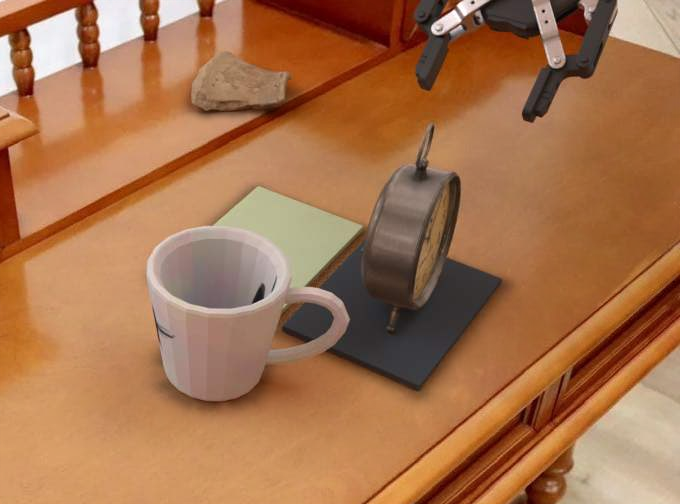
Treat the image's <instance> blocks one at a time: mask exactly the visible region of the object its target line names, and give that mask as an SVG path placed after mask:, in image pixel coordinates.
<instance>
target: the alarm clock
mask: <svg viewBox="0 0 680 504" xmlns="http://www.w3.org/2000/svg"><path fill="white" fill-rule="evenodd" d="M435 129H436V127H435V124H434V123H433V122H431V123H429V124H428V126H427V128H426V130H425V132H424V135H423V137H422V139H421V141H420V145H419V147H418V153H417V157H416V160H415V163H413V162H412V163H406V164H403V165H401V166H400V167H398V168H396V170H394V172H392V173H391V175H390V176H389V178H388V179H387V181H386V182H385V183H384V186H383V187H382V189H381V191H380V193H379V195H378V197H377V199H376V202H375V204H374V207H373V209H372V213H371V215H370V219H369V222H368V224H367V225H368V226H367V229H366V233H365V238H364V240H365V242H364V247H363V248H362V249H361V254H362V264H361V274H362V282H363V285H364V288H365V290H366V292H367V293H368V294H369V295H370V296H371V297H372V298H374V299H377V300H381V301H384V302H388V303H391V304H392V310H391V314H390V324H389V326H387V328H386V330H387V332H389V333H393V332H394V330H395V328H394V326H395V324H396V322H397V320H398V318H399V315H400V311H401V309H402V308H405V307H406V308H409V309H412V310H418V309H420V308H421V307H423V306H424V305H425V303H426V302H427V300H428V299H429V297H430V295H431V294H432V292H433V290H434V288H435V286H436V284H437V281H438V279H439V277H440V274H441V272H442V269H443V266H444V264H445V260H446V258H448V255H449V252H450V248H451V245H452V242H453V238H454V235H455V230H456V226H457V221H458V215H459V212H460V211H459V209H460V205H461V195H462V192H461V191H462V181H461V177H460V176H459V174H458V173H457V172H456V171H449V170H444V169H440V168H435V167H431V166H429V163H430V162H429V160H428V159H427V157H428V155H429V152H430V150H431V146H432V142H433V139H434V133H435ZM426 142H427V143H426ZM425 145H426V147H425ZM424 149H425V150H424ZM423 152H424V153H423Z"/></svg>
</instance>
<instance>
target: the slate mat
mask: <svg viewBox="0 0 680 504" xmlns="http://www.w3.org/2000/svg"><path fill="white" fill-rule="evenodd" d="M364 242H365V239H364V240H363V241H361V242H360V244H359V245H358V246H356V248H355V249H354V250H353V251H352V252H351V253H350V254H349V255H348V256H347V258H345V260H343V262H341V264H340V265H339V266H337V268H336V269H335V270H334V271H333V272H332V273H331V274H330V275H329V276H328V277H327V278H326V279H325V280H324V281H323V282H322V284H320V285H319V287H318V288H319V289H322V290H325V291H328V292H331V293H333V294H334V295H335V296H336V297H338V298H339V299H340V300H342V302H343V304H344V306H345V309H346V311H347V313H348V316H349V318H350V321H349V323H348V326H347V329H346V331H345V333H344V334H343V335H342V336H341V338H340V339H339V340H338V341H337V342H336V343H335V345H333V346H332V347H330V348H329V349H327V350H326V352H328V353H331V354H334V355H336V356H337V357H341V358H343V359H345V360H347V361H349V362H352V363H354V364H356V365H358V366H361V367H363V368H365V369H367V370H370V371H372V372H374V373H376V374H378V375H381V376H383V377H385V378H388V379H390V380H392V381H395V382H397V383H399V384H402V385H404V386H406V387H408V388H409V389H413V390H415V391H417V392H419V391H420V390H421V389H422V387H424V385H425V383H426V382H427V381H428V380H429V378H430V377H431V376H432V375H433V373H434V372H435V371H436V369H437V368H438V367H439V365H440V364H441V363H442V361H443V360H444V359H445V358H446V357H447V355H448V354H449V352H450V351H451V350H452V348H453V347H454V346H455V345H456V344H457V342H458V341H459V339H460V338H461V337H462V336H463V334H464V333H465V332H466V330H467V329H468V328H469V326H470V325H471V324H472V322H473V321H474V320H475V318H476V317H477V316H478V314H479V313H480V312H481V311H482V310H483V308H484V307H485V306H486V304H487V303H488V302H489V300H490V299H491V298H492V296H493V295H494V293H495V292H496V291H497V290H498V288H499V287H500V286H501V284H502V282H503V278H502V277H499V276H497V275H495V274H491V273H489V272H485V271H484V270H482V269H481V270H480V269H478V268H475V267H474V266H470V265H467V264H465V263H462V262H459V261H457V260H454V259H452V258H449V257H447V258H446V260H445V264H444V266H443V269H442V272H441V274H440V277H439V279H438V281H437V284H436V286H435V288H434V290H433V292H432V294H431V295H430V297H429V299H428V300H427V302H426V303H425V305H424V306H423V307H421V308H420V309H418V310H412V309H409V308H406V307H405V308H402V309H401V311H400V315H399V318H398V320H397V322H396V324H395V326H394V328H395V330H394V332H393V333H389V332H387V330H386V328H387V326H389V324H390V314H391V310H392V304H391V303H388V302H384V301H381V300H377V299H374V298H372V297H371V296H370V295H369V294H368V293H367V292H366V290H365V288H364V285H363V282H362V274H361V264H362V254H361V249H362V248H363V247H364ZM333 320H334V316H333V314H332V312H331V311H330V310H329V309H327V308H326V307H324V306H321V305H318V304H315V303H310V302H303V303H302V304H301V306H300V307H298V308H297V310H295V312H294V313H292V315H291V316H290V317H289V318H288V319H287V320H286V321H285V322H284V324H282V325H281V331H282V332H283V333H286V334H288V335H291V336H292V337H294V338H296V339H299V340H302V341H304V342H306V343H308V342H311V341H313V340H315V339H317V338H319V337H320V336H322V335H323V334H325V333H326V332H327V331H328V330H329V329H330V328H331V326H332V323H333Z"/></svg>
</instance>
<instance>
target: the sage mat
mask: <svg viewBox="0 0 680 504" xmlns="http://www.w3.org/2000/svg"><path fill="white" fill-rule="evenodd" d="M212 226H230V227H235V228H240V229H245V230H249V231H252V232H254V233H256V234H259V235H261V236H263V237H266V238H268V239H269V240H270V241H272V242H273V243H274V244H275V245H277V246H278V247H279V248H281V249H282V251H283V253H284V254H285V256H286V257H287V259H288V260H289V262H290V267H291V276H292V280H291V283H290V287H289V288H293V287H311V285H312V284H313V283H314V282H315V281H316V280H317V279H318V278H319V277H320V276H321V275H322V273H324V271H325V270H327V268H328V267H330V265H331V264H333V262H334V261H335V260H336V259H337V258H338V257H339V256H340V255H341V254H342V253H343V252H344V251H345V250H346V249H347V248H348V247H349V246H350V245H351V244H352V243H353V242H354V241H355V240H356V238H357V237H359V236H360V234H361V233H362V232H363V231H364V225H363V224H359V223H357V222H354V221H352V220H349V219H348V218H347V219H346V218H344V217H341V216H338V215H335V214H333V213H331V212H328V211H325V210H323V209H320V208H318V207H315V206H312V205H309V204H307V203H305V202H301V201H299V200H296V199H293V198H291V197H288V196H286V195H283V194H281V193H278V192H275V191H273V190H270V189H268V188H266V187H265V188H264V187H262V186H260V185H258V186H256V187H255V188H254V189H253V190H252V191H251V192H249V193H248V194H247V195H246V196H245V197H244V198H243V199H241V200H240V201H239V202H238V203H237V204H235V205H234V206H233V207H232V208H231V209H230V210H229V211H228V212H227V213H225V214H224V215H223V216H222V217H221V218H219V220H217V221H216V222H215V223H214V224H213V225H212ZM292 304H293V303H291V304H284V306H283V309H282V312H281V315H280V317H281V316H282V315H283V314H284V313H285V312H286V311H287V310H288V309H289V308H290V307H291V306H292Z"/></svg>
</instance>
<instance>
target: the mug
mask: <svg viewBox="0 0 680 504" xmlns="http://www.w3.org/2000/svg"><path fill="white" fill-rule="evenodd" d="M145 276H146V282H147V288H148V291H149V292H148V294H149V298H150V303H151V308H152V314H153V319H154V323H155V328H156V334H157V339H158V344H159V349H160V350H159V351H160V356H161V359H162V366H163V371H164V373H165V375H166V377H167V379H168V381H169V382H170V383H171V385H173V386H174V388H176V389H177V390H178V391H179V392H181V393H183V394H185V395H186V396H188V397H190V398H192V399H197V400H202V401H205V402H225V401H230V400H235V399H238V398H240V397H242V396H244V395H246V394H248V393H250V392H251V391H252V390H253V388H254V387H255V386H257V384H259V382H260V380H261V377H262V375H263V373H264V370H265V367H266V365H284V364H293V363H296V362H300V361H304V360H307V359H310V358H313V357H315V356H317V355H320V354H322V353H324V352H327V349H329V348H330V347H332V346H333V345H335V343H336V342H337V341H338V340H339V339H340V338H341V336H342V335H343V334H344V333H345V331H346V329H347V326H348V323H349V321H350V318H349V316H348V313H347V311H346V309H345V306H344V304H343V302H342V300H340V299H339V298H338V297H336V296H335V295H334V294H333V293H331V292H328V291H325V290H322V289H319V287H314V286H309V287H293V288H289V287H290V283H291V280H292V276H291V267H290V262H289V260H288V259H287V257H286V256H285V254H284V253H283V251H282V249H281V248H279V247H278V246H277V245H275V244H274V243H273V242H272V241H270V240H269V239H268V238H266V237H263V236H261V235H259V234H256V233H254V232H252V231H249V230H245V229H240V228H235V227H230V226H213V225H203V226H197V227H192V228H191V227H190V228H187V229H184V230H181V231H179V232H176V233H174V234H172V235H169V236H167V237H166V238H165V239H163V240H162V241H161V242H160V243H158V245H156V246H155V247H154V248H153V250H152V252H151V254H150V256H149V257H148V259H147V261H146V275H145ZM304 302H310V303H315V304H318V305H321V306H324V307H326V308H327V309H329V310H330V311H331V312H332V314H333V316H334V320H333V323H332V326H331V328H330V329H329V330H328V331H327V332H326V333H325V334H323V335H322V336H320V337H319V338H317V339H315V340H313V341H311V342H306V343H303V344H299V345H296V346H292V347H286V348H278V349H277V348H276V349H274V348H273V349H272V348H271V347H272V344H273V341H274V338H275V334H276V332H277V328H278V324H279V322H280V319H281V316H282V315H281V312H282V309H283V306H284V304H291V303H292V304H297V303H298V304H299V303H304ZM292 304H291V305H292ZM280 315H281V316H280Z"/></svg>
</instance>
